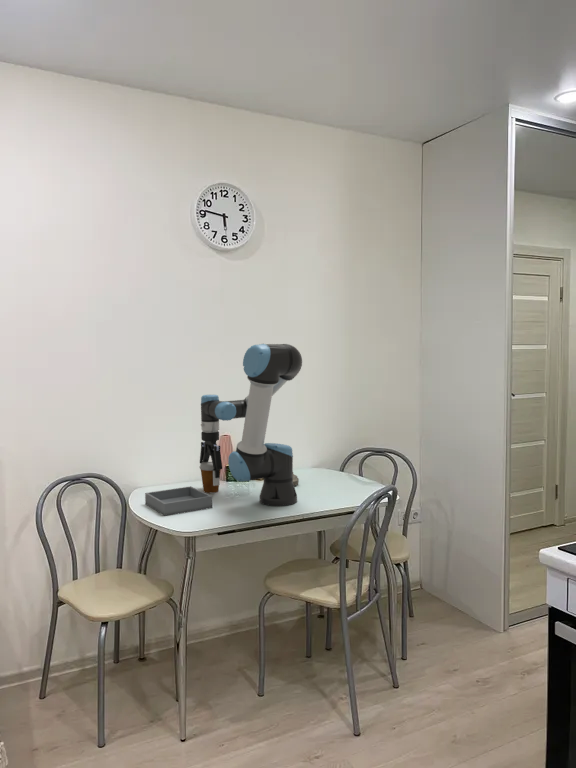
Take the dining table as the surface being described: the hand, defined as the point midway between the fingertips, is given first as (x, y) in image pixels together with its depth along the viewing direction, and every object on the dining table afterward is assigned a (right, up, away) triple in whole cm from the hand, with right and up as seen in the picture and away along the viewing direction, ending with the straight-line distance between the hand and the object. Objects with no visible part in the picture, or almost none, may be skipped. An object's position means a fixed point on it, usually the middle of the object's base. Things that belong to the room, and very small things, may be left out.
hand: (210, 482), depth 263 cm
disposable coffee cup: (0, -4, 0) cm, 4 cm away
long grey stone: (+27, -2, +23) cm, 36 cm away
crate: (-10, -5, -23) cm, 25 cm away
